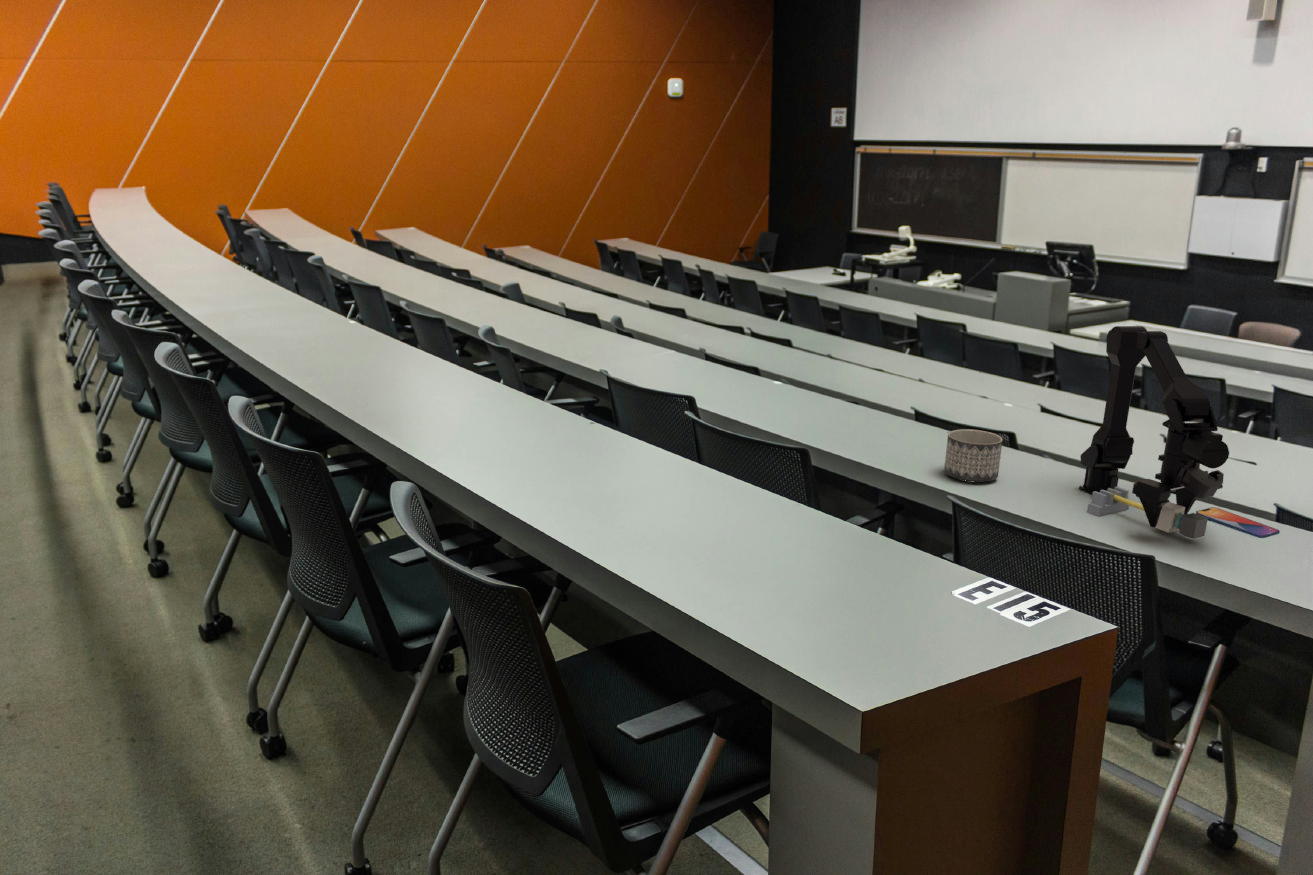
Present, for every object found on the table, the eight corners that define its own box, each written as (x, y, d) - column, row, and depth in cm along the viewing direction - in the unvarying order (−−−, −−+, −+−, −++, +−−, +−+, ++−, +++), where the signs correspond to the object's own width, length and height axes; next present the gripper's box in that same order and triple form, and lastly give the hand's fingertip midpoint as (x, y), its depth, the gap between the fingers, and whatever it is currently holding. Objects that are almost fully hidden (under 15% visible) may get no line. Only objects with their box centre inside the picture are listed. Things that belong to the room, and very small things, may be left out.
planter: (979, 489, 226) (984, 447, 223) (933, 475, 235) (937, 435, 232) (1007, 478, 234) (1012, 437, 231) (961, 465, 243) (966, 426, 240)
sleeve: (1151, 526, 202) (1155, 504, 201) (1163, 523, 204) (1167, 501, 202) (1168, 532, 199) (1172, 510, 197) (1180, 529, 200) (1185, 507, 199)
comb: (1086, 511, 212) (1089, 492, 211) (1116, 504, 217) (1119, 485, 216) (1098, 516, 210) (1101, 496, 209) (1128, 509, 214) (1131, 489, 213)
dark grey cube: (1174, 531, 198) (1177, 514, 197) (1185, 529, 199) (1188, 511, 198) (1193, 539, 194) (1196, 520, 193) (1204, 536, 196) (1207, 517, 195)
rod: (1102, 496, 214) (1102, 491, 213) (1105, 495, 214) (1106, 490, 214) (1183, 526, 197) (1184, 520, 197) (1187, 525, 198) (1188, 520, 197)
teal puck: (1173, 529, 198) (1175, 514, 197) (1182, 526, 200) (1185, 512, 199) (1176, 530, 197) (1179, 516, 197) (1186, 528, 199) (1189, 513, 198)
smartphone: (1260, 541, 199) (1261, 536, 199) (1192, 516, 212) (1193, 511, 211) (1281, 535, 203) (1282, 530, 202) (1213, 510, 215) (1214, 506, 215)
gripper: (1187, 470, 185) (1173, 544, 190) (1245, 458, 194) (1231, 529, 198) (1136, 454, 195) (1124, 525, 199) (1194, 443, 203) (1181, 511, 208)
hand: (1166, 523), depth 201 cm, fingers open, 9 cm apart
